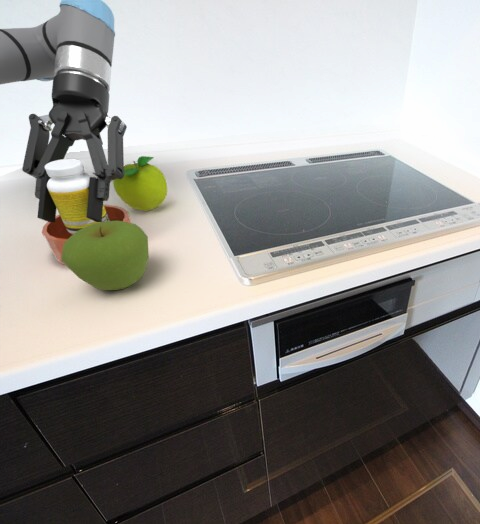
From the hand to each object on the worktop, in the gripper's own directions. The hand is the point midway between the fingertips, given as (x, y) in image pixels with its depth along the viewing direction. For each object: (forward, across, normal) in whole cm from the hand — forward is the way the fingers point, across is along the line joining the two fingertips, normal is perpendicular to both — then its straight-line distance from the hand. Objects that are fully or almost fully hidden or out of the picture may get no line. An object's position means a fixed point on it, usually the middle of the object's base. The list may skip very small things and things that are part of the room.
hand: (70, 219), depth 56 cm
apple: (+10, -8, 0) cm, 13 cm away
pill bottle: (0, 0, -5) cm, 5 cm away
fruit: (-8, -3, -18) cm, 20 cm away
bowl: (+3, 0, -8) cm, 8 cm away
